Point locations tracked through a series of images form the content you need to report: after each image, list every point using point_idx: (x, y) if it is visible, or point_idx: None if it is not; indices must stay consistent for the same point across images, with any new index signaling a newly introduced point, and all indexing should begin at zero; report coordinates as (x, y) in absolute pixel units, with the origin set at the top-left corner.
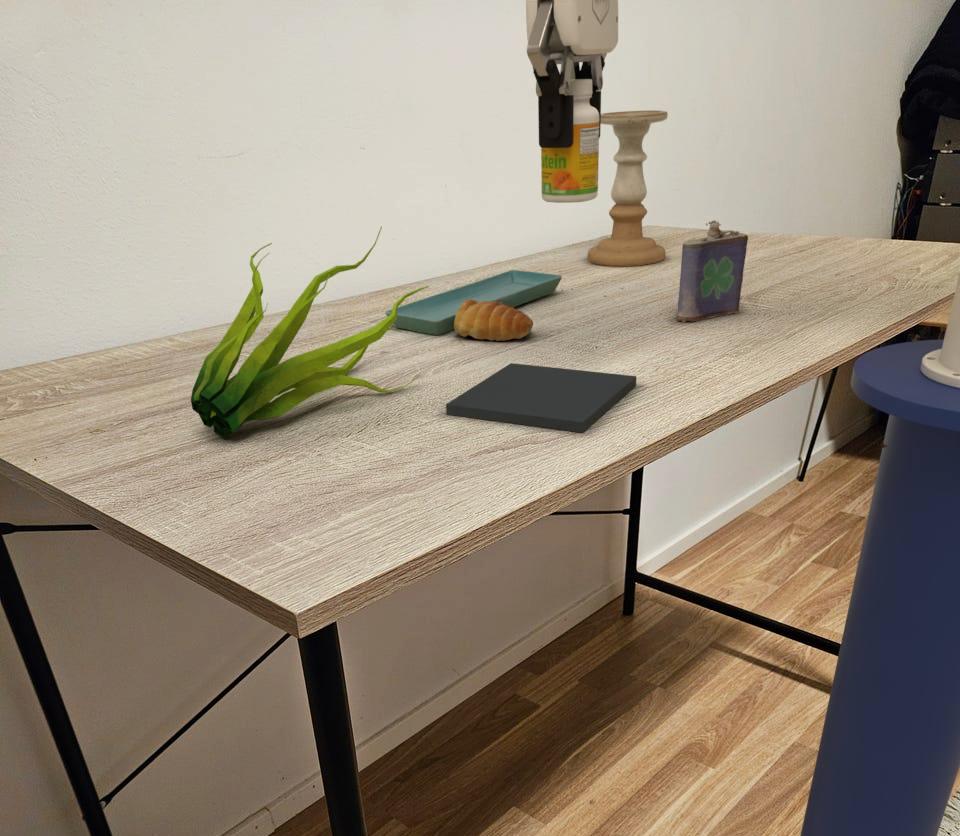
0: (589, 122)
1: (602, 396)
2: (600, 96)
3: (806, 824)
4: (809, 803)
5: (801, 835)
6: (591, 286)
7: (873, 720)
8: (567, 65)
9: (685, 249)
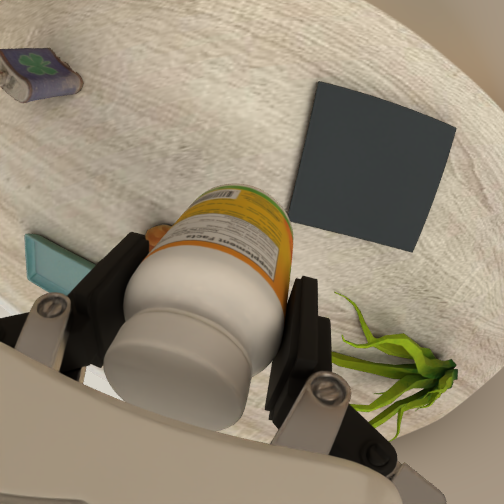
0: (250, 267)
1: (391, 111)
2: (84, 283)
3: None
4: None
5: None
6: (10, 207)
7: None
8: (323, 445)
9: (32, 95)
